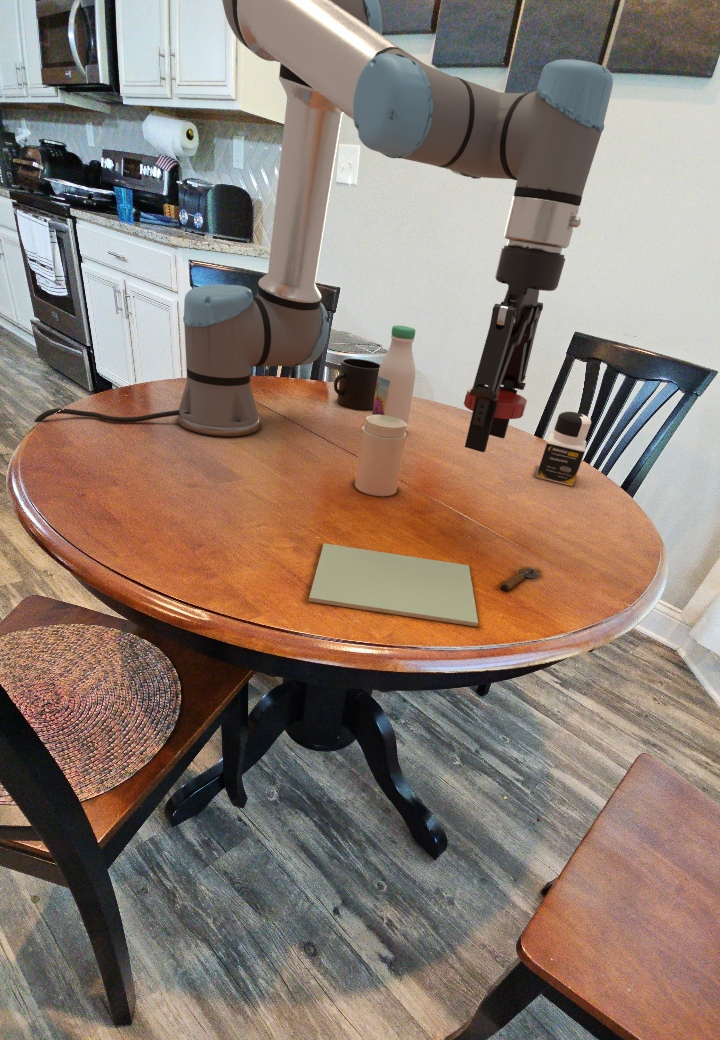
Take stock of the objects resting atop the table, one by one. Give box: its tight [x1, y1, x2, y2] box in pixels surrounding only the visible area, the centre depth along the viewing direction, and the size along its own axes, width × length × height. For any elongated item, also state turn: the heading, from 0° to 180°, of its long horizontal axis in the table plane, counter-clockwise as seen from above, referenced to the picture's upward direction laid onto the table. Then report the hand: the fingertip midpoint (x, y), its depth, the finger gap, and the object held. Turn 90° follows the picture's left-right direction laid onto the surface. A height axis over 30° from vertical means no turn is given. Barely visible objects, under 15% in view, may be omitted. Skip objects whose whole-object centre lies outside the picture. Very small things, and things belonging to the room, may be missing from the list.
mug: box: [333, 358, 381, 411], centre depth 136 cm, size 9×12×9 cm
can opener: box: [500, 566, 539, 593], centre depth 79 cm, size 9×2×1 cm, turn 134°
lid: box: [463, 386, 528, 420], centre depth 79 cm, size 8×8×2 cm
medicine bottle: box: [535, 411, 592, 487], centre depth 112 cm, size 7×7×12 cm
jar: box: [354, 414, 407, 497], centre depth 96 cm, size 7×7×11 cm
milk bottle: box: [371, 324, 416, 433], centre depth 120 cm, size 8×8×20 cm
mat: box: [308, 543, 479, 627], centre depth 74 cm, size 20×14×1 cm
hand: (485, 441), depth 82 cm, fingers closed on lid, 8 cm apart
